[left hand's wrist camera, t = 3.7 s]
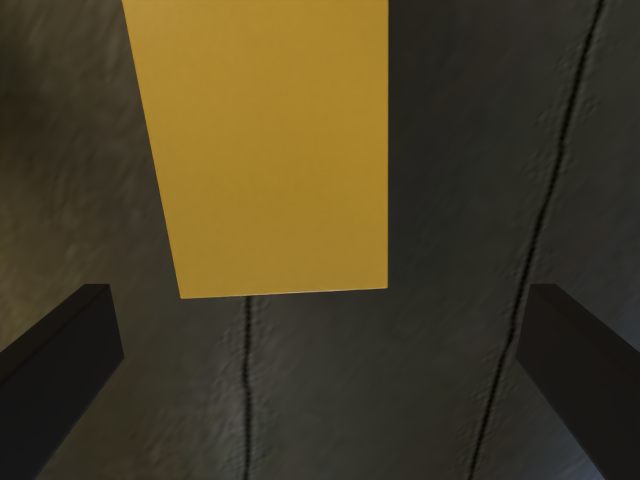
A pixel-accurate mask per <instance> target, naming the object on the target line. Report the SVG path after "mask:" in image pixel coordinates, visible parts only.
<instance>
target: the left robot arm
mask: <svg viewBox="0 0 640 480" xmlns="http://www.w3.org/2000/svg"><path fill="white" fill-rule="evenodd" d="M123 359H124V353H123V348H122V343H121V339H120V334H119V329H118V324H117V319H116V314H115V309H114V304H113V299H112V294H111V289H110V285H109V284H84V285H83V286H82V287H80V288H79V289H78V290H77V291H76V292H74V293H73V294H72V295H71V296H69V297H68V298H67V299H66V300H64V301H63V302H62V303H61V304H60V305H58V306H57V307H56V308H55V309H53V310H52V311H51V312H50V313H49V314H47V315H46V316H45V317H44V318H42V319H41V320H40V321H39V322H37V323H36V324H35V325H34V326H33V327H31V328H30V329H29V330H28V331H26V332H25V333H24V334H23V335H21V336H20V337H19V338H18V339H17V340H15V341H14V342H13V343H12V344H10V345H9V346H8V347H7V348H6V349H4V350H3V351H2V352H1V353H0V480H35V479H36V477H37V476H38V474H39V473H40V472H41V470H42V469H43V468H44V466H45V465H46V464H47V462H48V461H49V460H50V458H51V457H52V455H53V454H54V453H55V451H56V450H57V449H58V447H59V446H60V445H61V443H62V442H63V441H64V439H65V438H66V436H67V435H68V434H69V432H70V431H71V430H72V428H73V427H74V426H75V424H76V423H77V422H78V420H79V419H80V417H81V416H82V415H83V413H84V412H85V411H86V409H87V408H88V407H89V405H90V404H91V403H92V401H93V400H94V398H95V397H96V396H97V394H98V393H99V392H100V390H101V389H102V388H103V386H104V385H105V384H106V382H107V381H108V379H109V378H110V377H111V375H112V374H113V373H114V371H115V370H116V369H117V367H118V366H119V365H120V363H121V362H122V360H123ZM516 359H517V360H518V362H519V363H520V365H521V366H522V367H523V369H524V370H525V371H526V373H527V374H528V375H529V377H530V378H531V379H532V381H533V382H534V384H535V385H536V386H537V388H538V389H539V390H540V392H541V393H542V394H543V396H544V397H545V398H546V400H547V401H548V403H549V404H550V405H551V407H552V408H553V409H554V411H555V412H556V413H557V415H558V416H559V417H560V419H561V420H562V422H563V423H564V424H565V426H566V427H567V428H568V430H569V431H570V432H571V434H572V435H573V436H574V438H575V439H576V441H577V442H578V443H579V445H580V446H581V447H582V449H583V450H584V451H585V453H586V454H587V455H588V457H589V458H590V460H591V461H592V462H593V464H594V465H595V466H596V468H597V469H598V470H599V472H600V473H601V474H602V476H603V477H604V479H605V480H640V353H639V352H638V351H637V350H636V349H634V348H633V347H632V346H631V345H630V344H628V343H627V342H626V341H625V340H623V339H622V338H621V337H620V336H619V335H617V334H616V333H615V332H614V331H612V330H611V329H610V328H609V327H607V326H606V325H605V324H604V323H603V322H601V321H600V320H599V319H598V318H596V317H595V316H594V315H593V314H591V313H590V312H589V311H588V310H587V309H585V308H584V307H583V306H582V305H580V304H579V303H578V302H577V301H576V300H574V299H573V298H572V297H571V296H569V295H568V294H567V293H566V292H564V291H563V290H562V289H561V288H560V287H558V286H557V285H556V284H531V285H530V289H529V294H528V299H527V304H526V309H525V314H524V319H523V324H522V329H521V334H520V339H519V343H518V348H517V353H516Z"/></svg>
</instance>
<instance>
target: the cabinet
mask: <svg viewBox="0 0 640 480" xmlns="http://www.w3.org/2000/svg"><path fill="white" fill-rule="evenodd" d="M122 2H123V7H124V12H125V18H126V23H127V28H128V33H129V38H130V43H131V48H132V53H133V58H134V63H135V68H136V73H137V78H138V83H139V88H140V94H141V99H142V104H143V109H144V114H145V119H146V124H147V129H148V134H149V139H150V144H151V149H152V154H153V159H154V165H155V170H156V175H157V180H158V185H159V190H160V195H161V200H162V205H163V210H164V215H165V220H166V225H167V230H168V236H169V241H170V246H171V251H172V256H173V261H174V266H175V271H176V276H177V281H178V286H179V291H180V296H181V299H184V298H203V297H223V296H242V295H262V294H281V293H301V292H320V291H340V290H359V289H378V288H387V287H388V0H122Z"/></svg>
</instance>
